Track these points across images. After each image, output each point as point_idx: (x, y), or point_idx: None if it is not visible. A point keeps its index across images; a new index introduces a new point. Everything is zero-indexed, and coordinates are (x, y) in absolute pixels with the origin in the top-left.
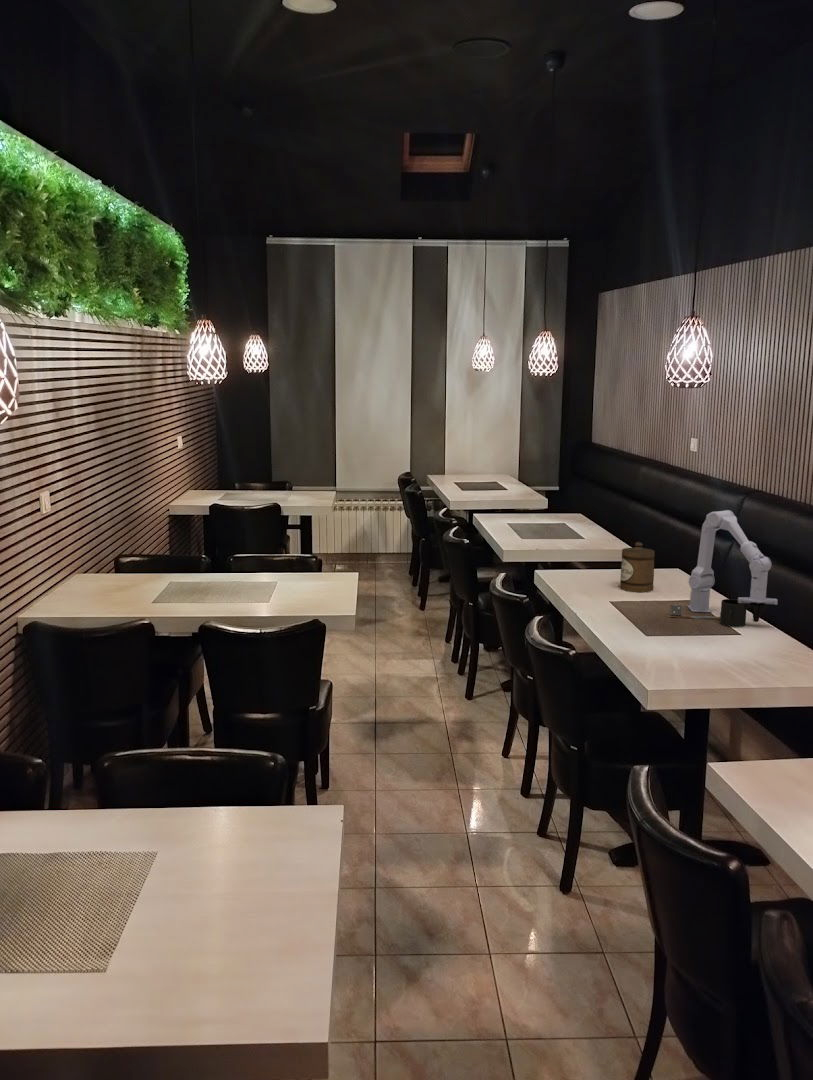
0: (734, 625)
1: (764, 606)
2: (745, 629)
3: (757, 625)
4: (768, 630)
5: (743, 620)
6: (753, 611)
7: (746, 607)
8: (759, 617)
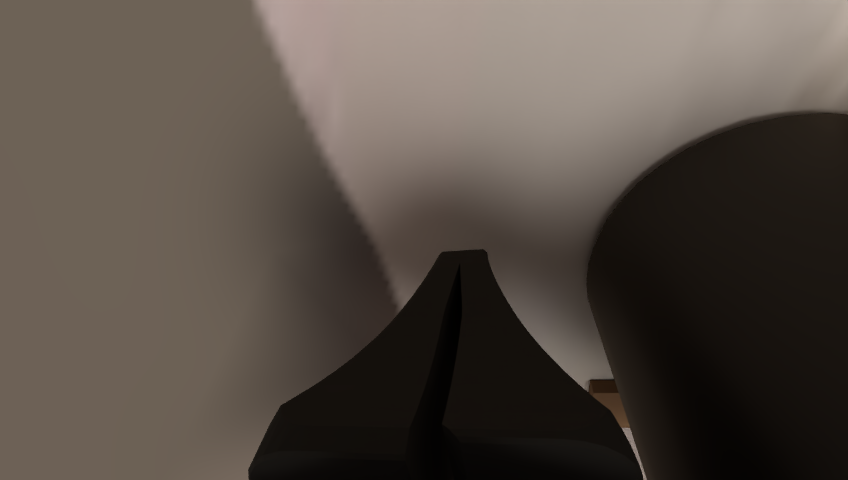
0: (826, 116)
1: (280, 434)
2: (673, 8)
3: None
4: (329, 56)
5: (685, 207)
6: (539, 348)
7: (712, 451)
8: (422, 283)
